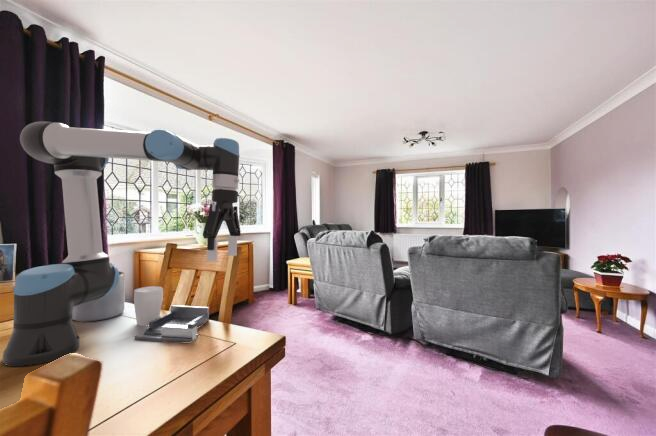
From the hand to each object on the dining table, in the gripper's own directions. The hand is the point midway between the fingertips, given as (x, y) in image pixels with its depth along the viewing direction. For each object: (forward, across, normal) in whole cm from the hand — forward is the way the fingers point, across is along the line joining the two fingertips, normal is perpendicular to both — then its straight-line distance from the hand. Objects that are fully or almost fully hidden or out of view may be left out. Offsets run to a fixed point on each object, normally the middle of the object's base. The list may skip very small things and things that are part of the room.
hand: (222, 258), depth 92 cm
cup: (+26, +10, +32) cm, 43 cm away
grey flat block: (+26, -1, +13) cm, 29 cm away
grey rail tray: (+26, +9, +19) cm, 33 cm away
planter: (+26, +14, +55) cm, 63 cm away
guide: (+26, -1, +17) cm, 31 cm away
